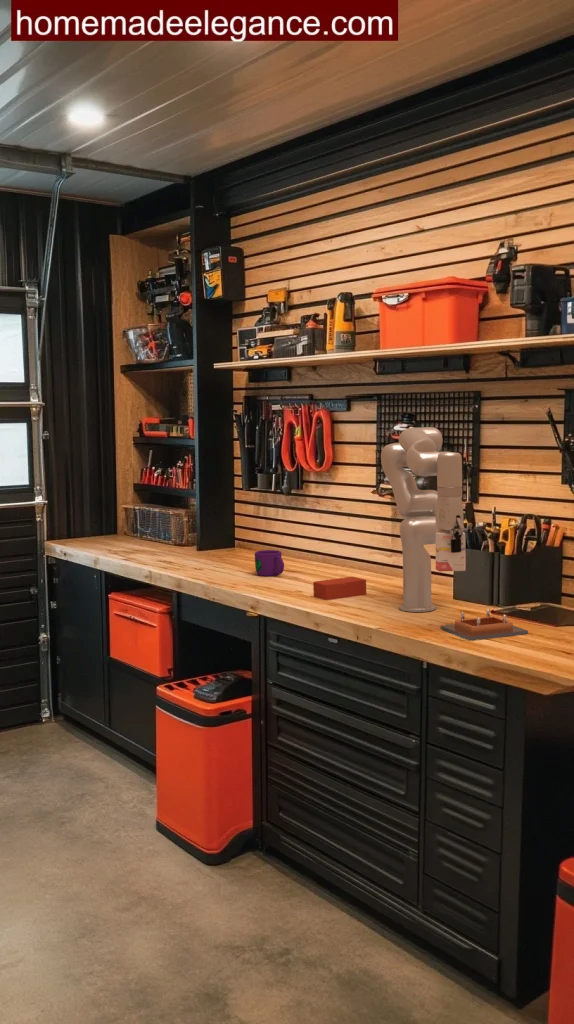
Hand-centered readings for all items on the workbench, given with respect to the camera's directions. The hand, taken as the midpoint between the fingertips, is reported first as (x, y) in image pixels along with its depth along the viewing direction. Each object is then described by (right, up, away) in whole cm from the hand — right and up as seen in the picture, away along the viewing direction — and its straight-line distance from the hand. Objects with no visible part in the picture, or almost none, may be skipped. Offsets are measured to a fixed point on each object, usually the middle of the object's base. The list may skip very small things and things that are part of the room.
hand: (450, 550), depth 279 cm
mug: (-57, -15, +107) cm, 122 cm away
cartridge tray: (+9, -24, -4) cm, 26 cm away
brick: (-31, -20, +58) cm, 69 cm away
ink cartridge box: (0, -6, 0) cm, 6 cm away
